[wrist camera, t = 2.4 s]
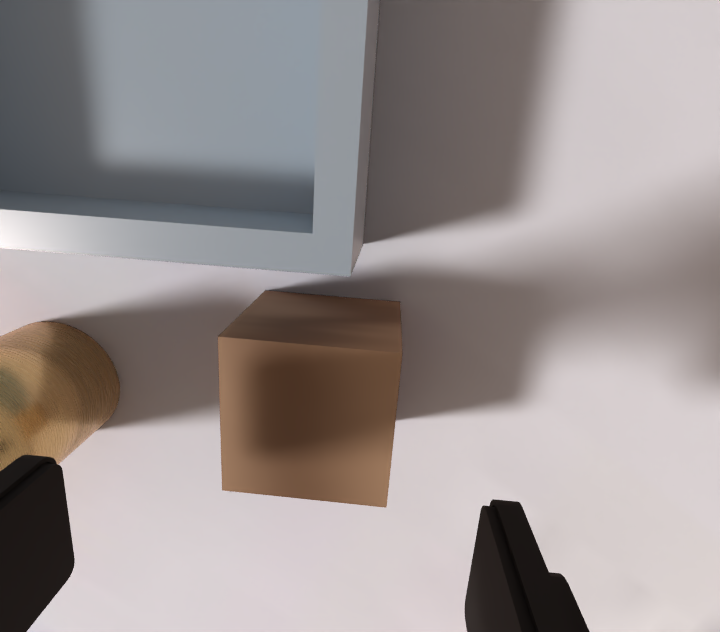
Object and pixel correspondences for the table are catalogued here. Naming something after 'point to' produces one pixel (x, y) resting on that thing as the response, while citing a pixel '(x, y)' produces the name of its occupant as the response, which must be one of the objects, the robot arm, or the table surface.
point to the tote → (188, 130)
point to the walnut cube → (310, 397)
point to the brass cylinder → (52, 390)
